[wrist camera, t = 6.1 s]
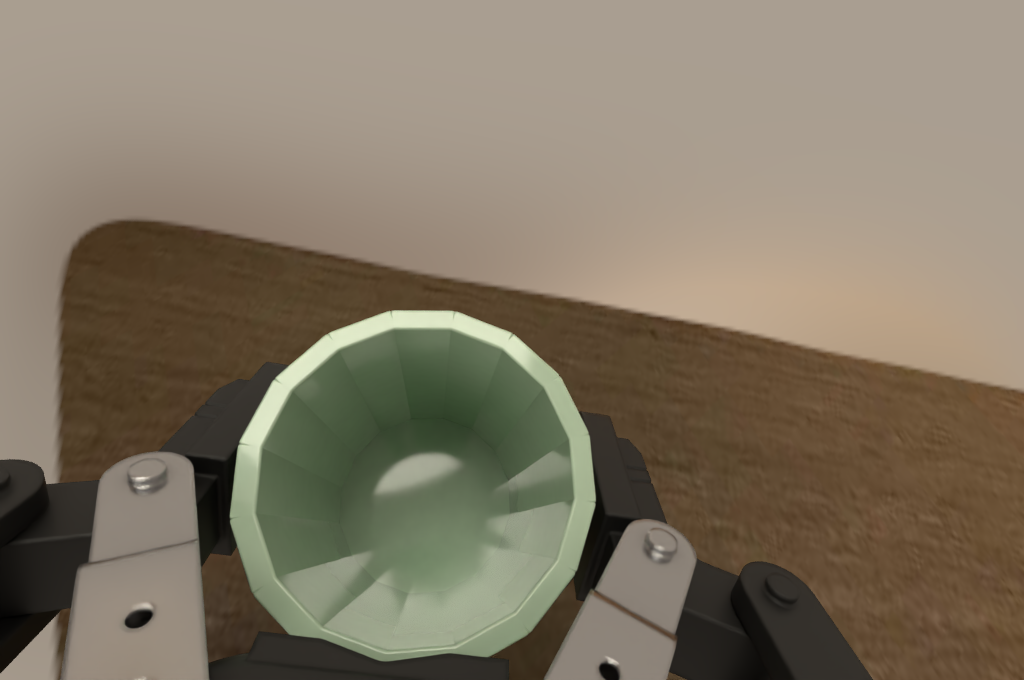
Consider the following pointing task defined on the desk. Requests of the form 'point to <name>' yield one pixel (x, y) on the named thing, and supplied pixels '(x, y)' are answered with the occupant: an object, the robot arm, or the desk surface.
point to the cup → (413, 488)
